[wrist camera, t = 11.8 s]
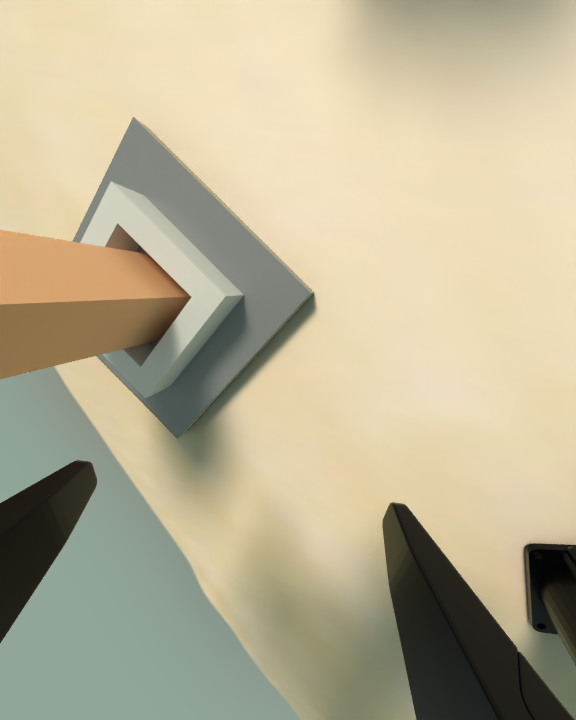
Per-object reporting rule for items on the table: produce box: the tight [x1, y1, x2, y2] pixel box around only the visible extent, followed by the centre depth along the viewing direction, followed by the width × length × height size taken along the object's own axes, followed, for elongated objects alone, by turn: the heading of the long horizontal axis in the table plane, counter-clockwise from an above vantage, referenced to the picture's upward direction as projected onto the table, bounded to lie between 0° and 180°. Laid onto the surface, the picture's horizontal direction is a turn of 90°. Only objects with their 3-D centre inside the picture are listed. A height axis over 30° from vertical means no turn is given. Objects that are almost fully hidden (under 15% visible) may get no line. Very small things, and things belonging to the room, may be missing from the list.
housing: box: [73, 117, 314, 438], centre depth 19 cm, size 15×15×4 cm
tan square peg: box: [0, 230, 191, 379], centre depth 13 cm, size 4×4×13 cm
